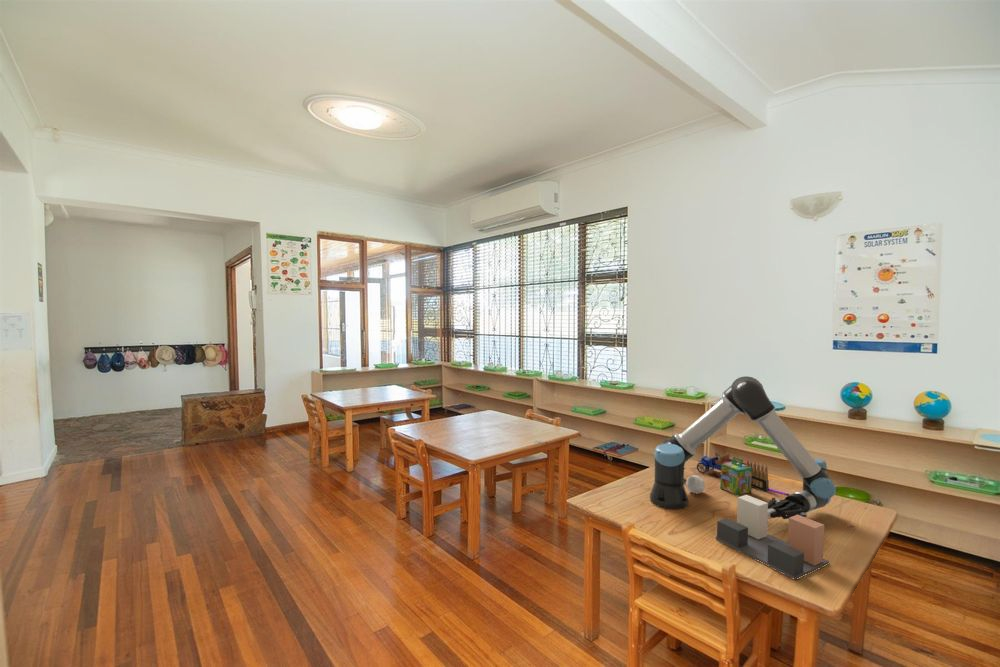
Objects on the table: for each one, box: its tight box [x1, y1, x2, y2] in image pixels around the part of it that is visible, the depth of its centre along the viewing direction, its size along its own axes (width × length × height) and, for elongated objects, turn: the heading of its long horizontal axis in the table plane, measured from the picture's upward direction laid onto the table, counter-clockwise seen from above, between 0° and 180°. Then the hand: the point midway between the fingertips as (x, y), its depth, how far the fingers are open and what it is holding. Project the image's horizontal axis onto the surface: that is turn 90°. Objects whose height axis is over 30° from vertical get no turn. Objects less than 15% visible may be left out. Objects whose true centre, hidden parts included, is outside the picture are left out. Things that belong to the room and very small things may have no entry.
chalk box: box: [719, 456, 752, 496], centre depth 200 cm, size 9×9×15 cm
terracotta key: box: [787, 515, 825, 566], centre depth 143 cm, size 5×8×12 cm, turn 27°
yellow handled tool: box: [768, 487, 790, 496], centre depth 196 cm, size 3×1×16 cm
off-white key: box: [736, 494, 769, 539], centre depth 159 cm, size 5×8×12 cm, turn 27°
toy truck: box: [696, 452, 750, 475], centre depth 216 cm, size 8×25×11 cm, turn 34°
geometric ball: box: [685, 474, 706, 495], centre depth 198 cm, size 8×8×8 cm
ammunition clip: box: [745, 458, 770, 493], centre depth 203 cm, size 11×2×12 cm, turn 26°
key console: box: [715, 517, 830, 580], centre depth 150 cm, size 18×27×7 cm
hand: (762, 516), depth 162 cm, fingers closed
